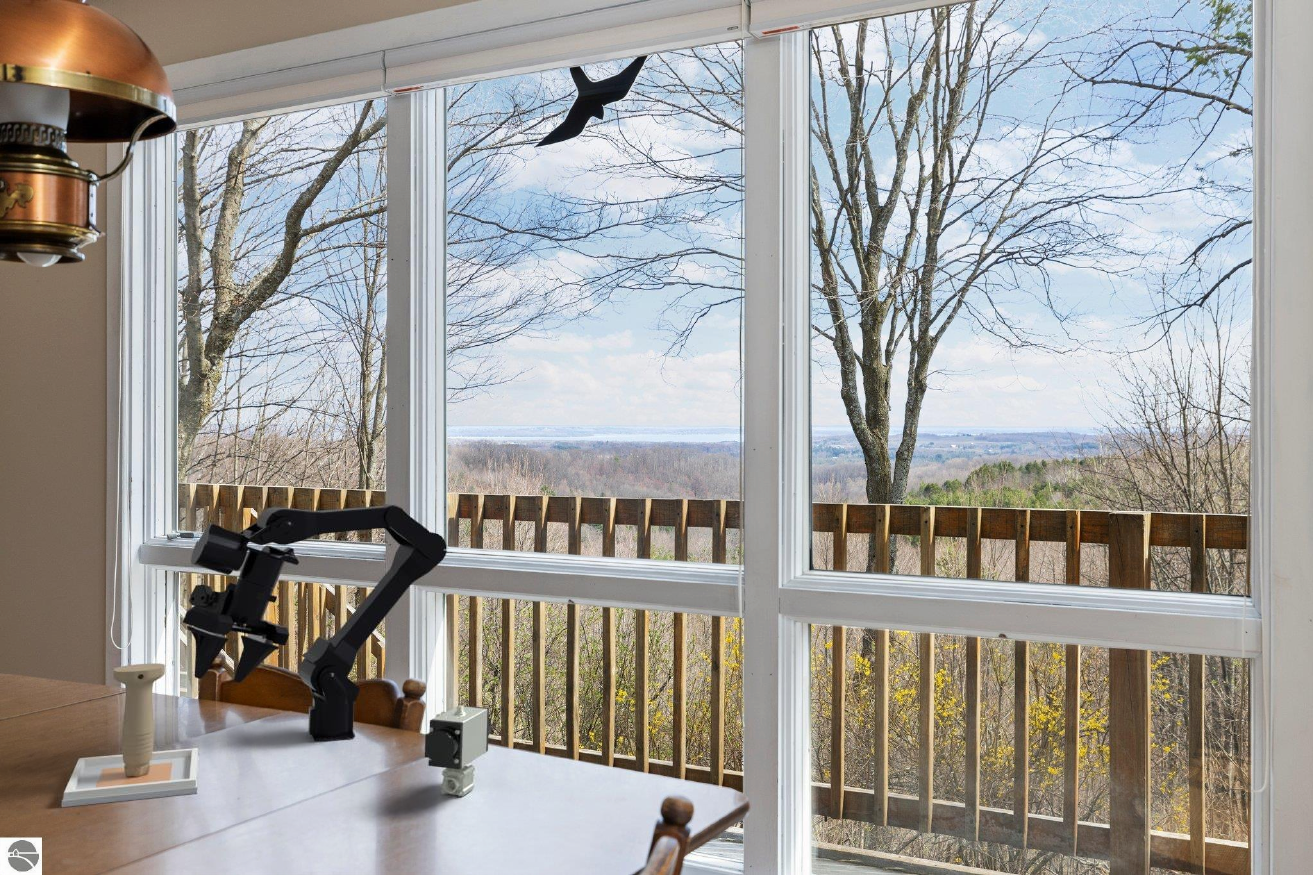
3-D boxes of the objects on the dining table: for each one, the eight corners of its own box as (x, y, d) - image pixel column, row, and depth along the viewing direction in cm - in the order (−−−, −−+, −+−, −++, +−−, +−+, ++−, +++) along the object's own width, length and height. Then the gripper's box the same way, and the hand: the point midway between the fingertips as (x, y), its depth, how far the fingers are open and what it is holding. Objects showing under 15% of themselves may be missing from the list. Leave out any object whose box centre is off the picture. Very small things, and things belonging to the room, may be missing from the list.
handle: (110, 772, 141) (112, 666, 141) (160, 765, 144) (163, 662, 144) (112, 782, 136) (114, 673, 137) (164, 775, 140) (166, 668, 140)
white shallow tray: (199, 759, 150) (199, 747, 150) (196, 793, 136) (197, 779, 136) (77, 770, 144) (77, 757, 144) (61, 807, 129) (62, 793, 129)
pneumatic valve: (491, 781, 144) (493, 697, 144) (453, 808, 133) (456, 717, 133) (456, 776, 145) (458, 694, 146) (416, 803, 134) (419, 713, 134)
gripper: (252, 579, 169) (216, 669, 166) (176, 559, 152) (134, 660, 148) (305, 597, 165) (270, 689, 162) (233, 579, 148) (192, 682, 145)
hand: (217, 680), depth 154 cm, fingers open, 9 cm apart
